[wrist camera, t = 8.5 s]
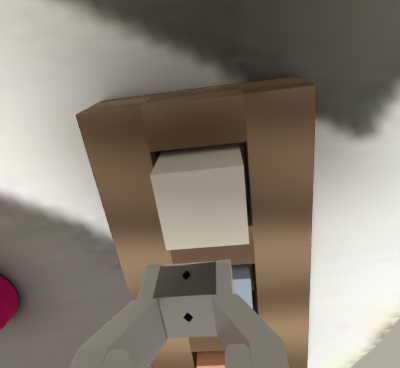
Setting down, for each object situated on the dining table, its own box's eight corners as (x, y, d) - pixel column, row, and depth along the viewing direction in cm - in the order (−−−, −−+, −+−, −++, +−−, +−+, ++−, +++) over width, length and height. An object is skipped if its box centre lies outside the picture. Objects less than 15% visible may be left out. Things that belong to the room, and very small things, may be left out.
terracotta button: (198, 325, 25) (196, 366, 22) (251, 323, 25) (256, 364, 22) (205, 360, 27) (203, 402, 24) (254, 358, 27) (259, 400, 24)
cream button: (161, 150, 17) (149, 175, 14) (238, 142, 17) (243, 165, 14) (174, 216, 19) (166, 250, 16) (243, 209, 19) (249, 243, 16)
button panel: (102, 101, 19) (75, 114, 16) (295, 76, 18) (316, 85, 14) (170, 367, 30) (164, 411, 26) (294, 362, 29) (305, 408, 25)
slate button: (184, 248, 22) (179, 283, 19) (245, 243, 22) (250, 278, 18) (193, 293, 24) (189, 332, 21) (249, 290, 23) (254, 329, 20)
